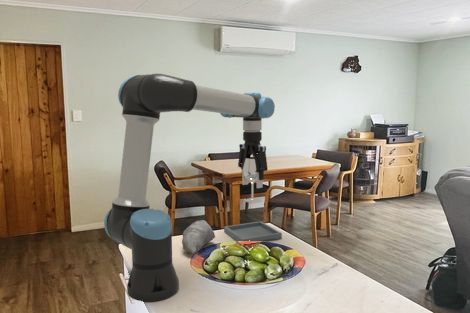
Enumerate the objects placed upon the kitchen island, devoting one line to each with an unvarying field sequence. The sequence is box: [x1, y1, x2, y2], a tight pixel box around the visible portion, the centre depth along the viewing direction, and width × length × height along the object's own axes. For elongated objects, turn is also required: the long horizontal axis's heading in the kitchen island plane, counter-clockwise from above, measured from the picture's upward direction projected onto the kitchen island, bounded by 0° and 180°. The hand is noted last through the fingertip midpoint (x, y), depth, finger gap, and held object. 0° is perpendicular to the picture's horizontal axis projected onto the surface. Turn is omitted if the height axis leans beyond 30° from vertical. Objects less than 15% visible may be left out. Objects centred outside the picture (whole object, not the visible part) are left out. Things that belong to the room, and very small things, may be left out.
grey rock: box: [181, 219, 216, 255], centre depth 150 cm, size 16×15×10 cm
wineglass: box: [243, 156, 261, 204], centre depth 162 cm, size 8×8×18 cm
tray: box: [223, 220, 283, 242], centre depth 165 cm, size 18×18×2 cm
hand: (252, 186), depth 163 cm, fingers closed on wineglass, 8 cm apart
